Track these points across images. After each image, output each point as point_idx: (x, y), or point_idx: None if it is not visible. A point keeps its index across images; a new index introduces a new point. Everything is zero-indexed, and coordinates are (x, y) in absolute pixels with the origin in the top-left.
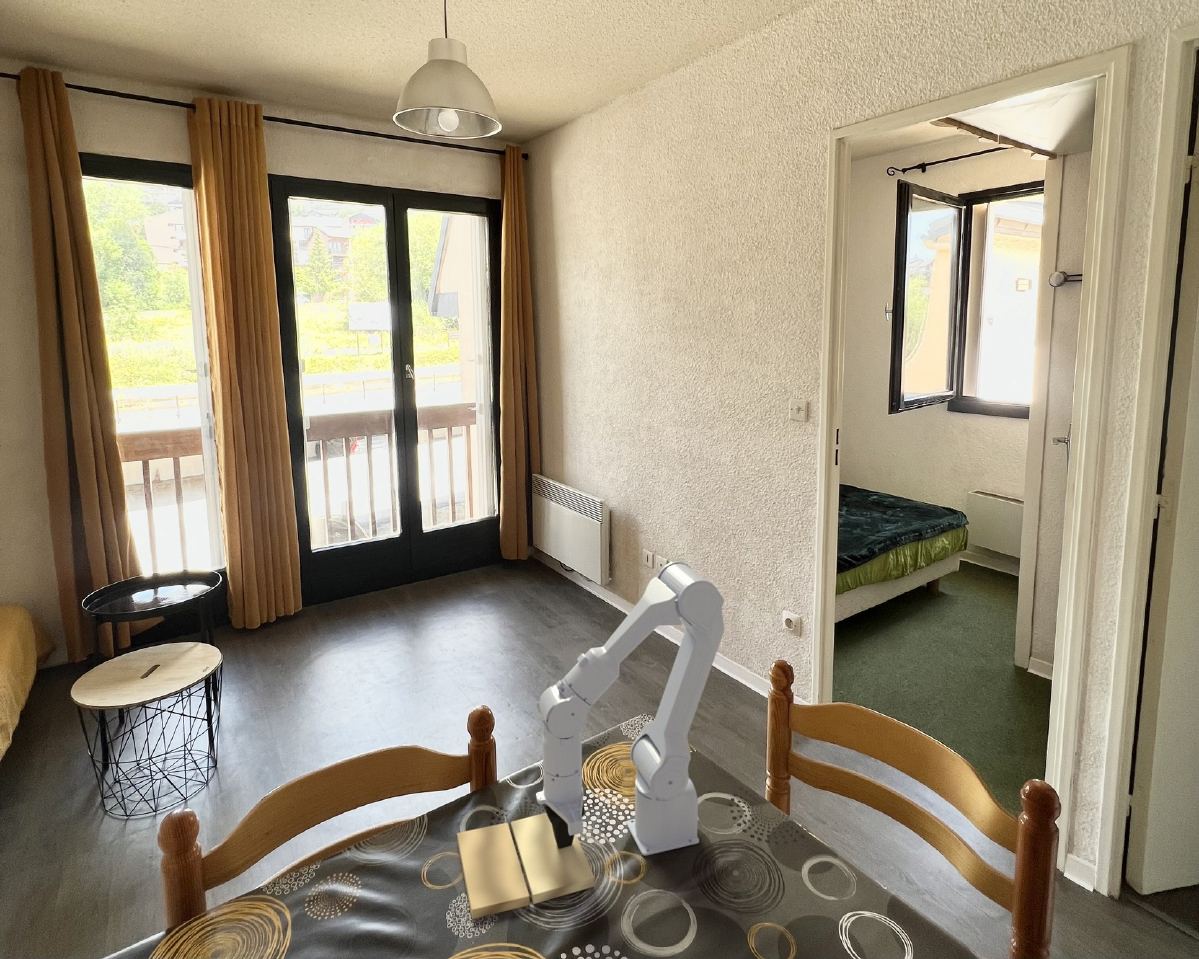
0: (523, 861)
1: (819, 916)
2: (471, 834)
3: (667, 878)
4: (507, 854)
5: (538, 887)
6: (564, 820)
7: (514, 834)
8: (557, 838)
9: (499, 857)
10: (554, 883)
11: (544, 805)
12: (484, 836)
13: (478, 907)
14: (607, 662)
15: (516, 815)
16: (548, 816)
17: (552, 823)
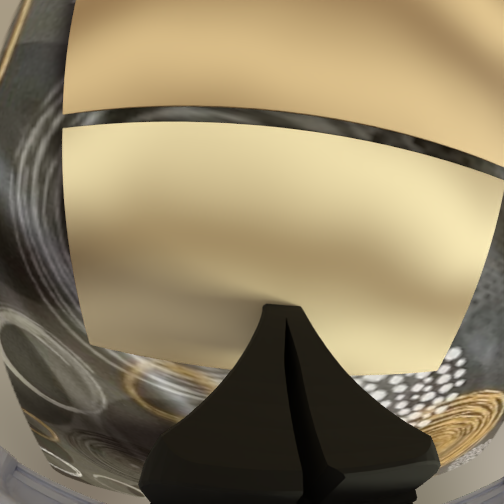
0: (264, 130)
1: (71, 460)
2: (498, 21)
3: (130, 424)
4: (345, 75)
5: (87, 157)
6: (3, 498)
7: (449, 162)
8: (251, 339)
9: (339, 35)
10: (86, 223)
11: (367, 475)
12: (480, 50)
13: None
14: None
15: None
16: (175, 475)
17: (167, 431)
